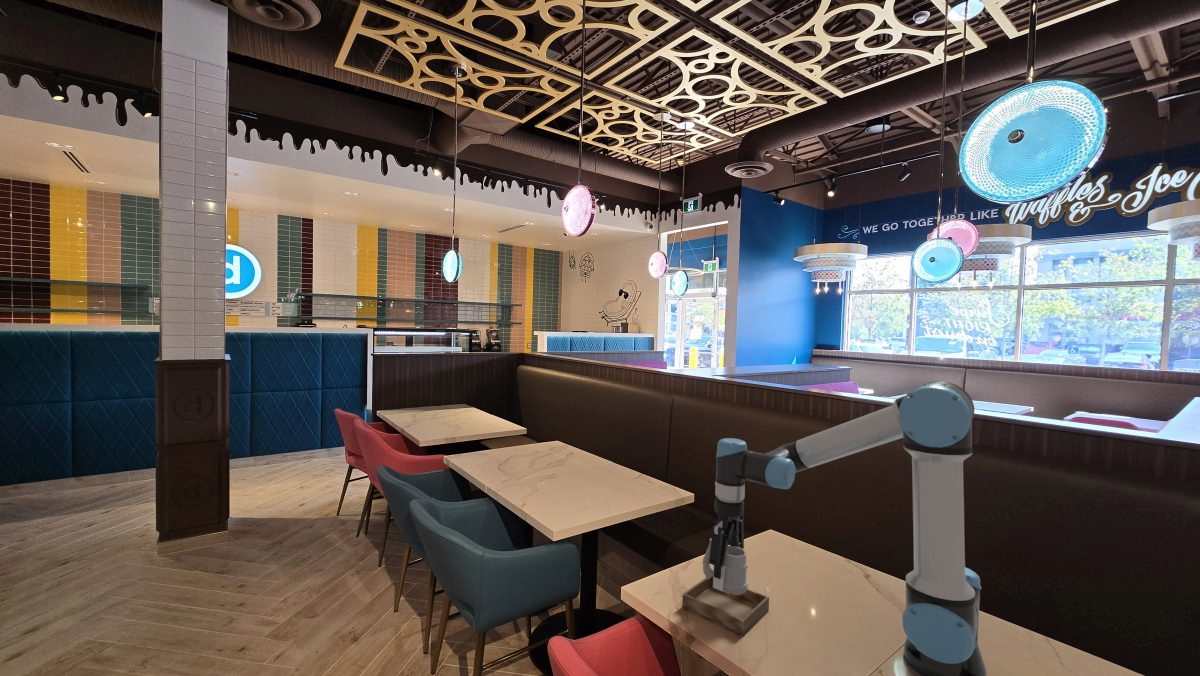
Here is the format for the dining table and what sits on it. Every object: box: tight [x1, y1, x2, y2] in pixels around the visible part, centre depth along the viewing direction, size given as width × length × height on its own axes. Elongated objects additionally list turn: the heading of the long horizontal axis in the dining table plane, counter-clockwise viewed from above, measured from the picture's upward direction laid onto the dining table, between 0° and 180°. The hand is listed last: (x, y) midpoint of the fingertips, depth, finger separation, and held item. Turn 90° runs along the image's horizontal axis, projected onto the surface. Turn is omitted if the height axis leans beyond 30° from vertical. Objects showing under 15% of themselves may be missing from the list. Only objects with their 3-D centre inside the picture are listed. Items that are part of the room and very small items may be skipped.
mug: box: [702, 537, 749, 595], centre depth 129 cm, size 8×12×12 cm, turn 71°
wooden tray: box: [681, 577, 770, 638], centre depth 130 cm, size 17×15×4 cm
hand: (725, 583), depth 130 cm, fingers closed on mug, 7 cm apart
